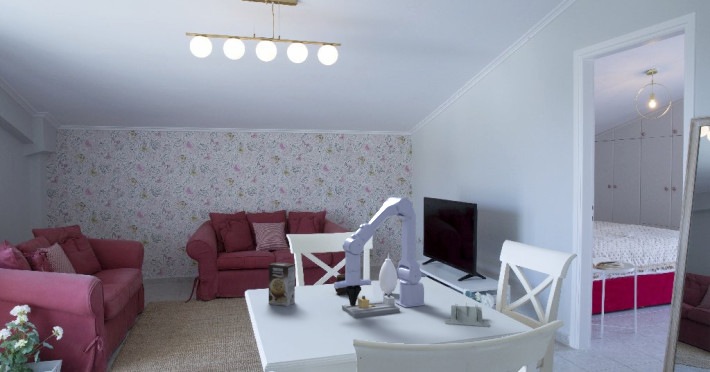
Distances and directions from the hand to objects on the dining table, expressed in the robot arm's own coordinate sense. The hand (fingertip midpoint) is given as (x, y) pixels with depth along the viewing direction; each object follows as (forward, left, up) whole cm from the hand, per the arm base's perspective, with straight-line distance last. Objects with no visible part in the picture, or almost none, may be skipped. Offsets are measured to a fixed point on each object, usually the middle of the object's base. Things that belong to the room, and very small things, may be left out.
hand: (352, 305), depth 183 cm
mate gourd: (-7, -28, -3) cm, 29 cm away
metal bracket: (-35, +24, -3) cm, 42 cm away
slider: (-5, 0, -1) cm, 5 cm away
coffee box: (+22, -23, -3) cm, 32 cm away
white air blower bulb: (-25, -20, -3) cm, 33 cm away
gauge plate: (-7, 0, -3) cm, 8 cm away
